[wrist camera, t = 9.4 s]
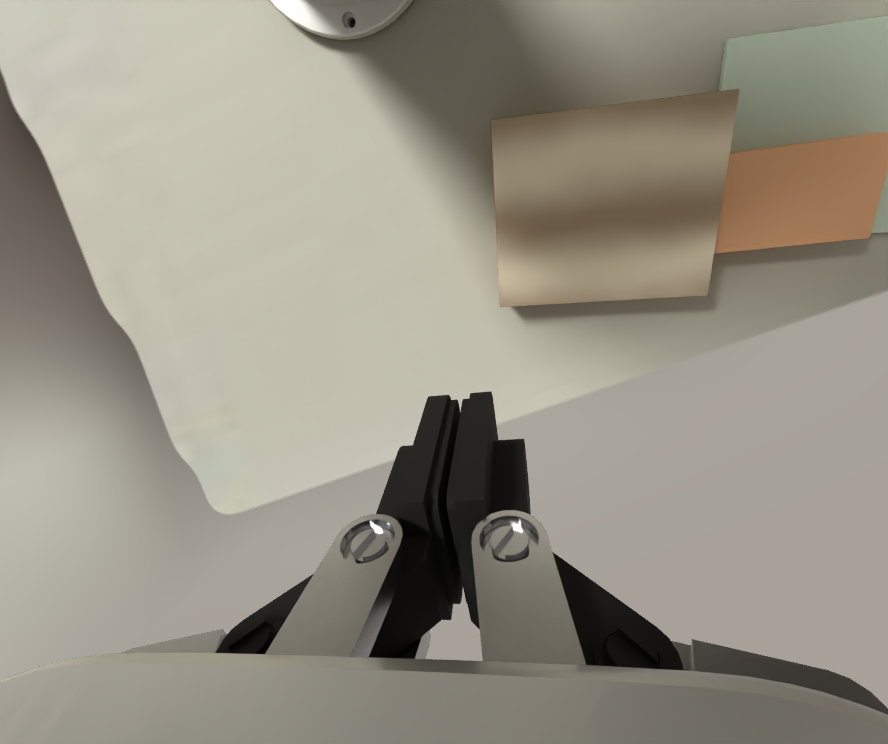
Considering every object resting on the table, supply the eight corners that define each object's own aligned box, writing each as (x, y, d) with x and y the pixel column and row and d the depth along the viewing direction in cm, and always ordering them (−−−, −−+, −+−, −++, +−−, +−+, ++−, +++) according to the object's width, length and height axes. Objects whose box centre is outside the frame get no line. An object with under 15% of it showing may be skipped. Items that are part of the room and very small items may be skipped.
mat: (725, 40, 27) (728, 38, 26) (973, 4, 24) (980, 1, 24) (697, 245, 32) (699, 246, 31) (899, 229, 30) (904, 230, 29)
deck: (492, 122, 30) (490, 120, 27) (717, 94, 28) (739, 88, 25) (501, 295, 35) (500, 307, 33) (691, 283, 33) (707, 295, 30)
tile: (714, 154, 29) (726, 154, 27) (875, 132, 27) (897, 131, 26) (704, 248, 31) (714, 253, 30) (850, 233, 30) (869, 238, 28)
